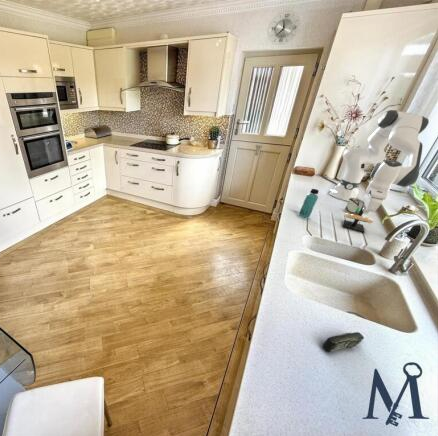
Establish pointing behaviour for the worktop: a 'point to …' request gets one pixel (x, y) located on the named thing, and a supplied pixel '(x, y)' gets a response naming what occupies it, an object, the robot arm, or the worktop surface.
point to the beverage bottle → (309, 203)
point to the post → (354, 224)
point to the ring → (358, 218)
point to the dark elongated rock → (342, 341)
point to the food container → (354, 206)
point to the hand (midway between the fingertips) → (364, 212)
